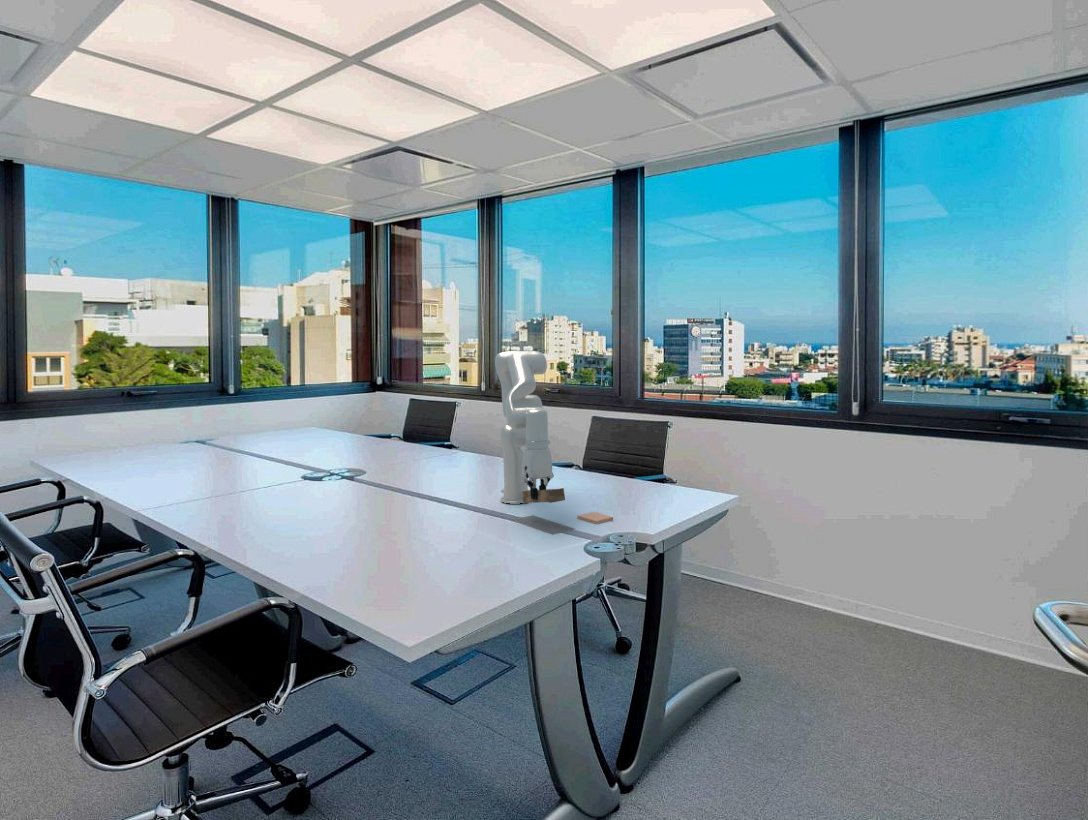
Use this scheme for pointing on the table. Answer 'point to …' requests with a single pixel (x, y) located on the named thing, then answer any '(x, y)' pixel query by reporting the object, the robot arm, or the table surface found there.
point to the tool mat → (543, 524)
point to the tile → (595, 517)
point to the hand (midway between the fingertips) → (538, 497)
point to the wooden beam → (545, 496)
